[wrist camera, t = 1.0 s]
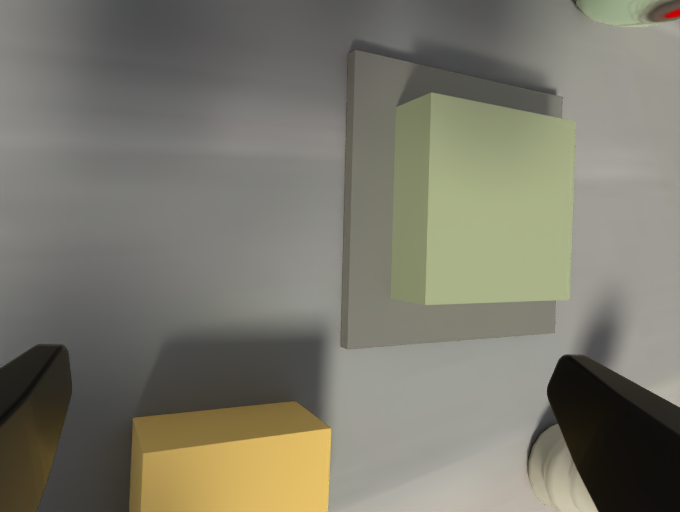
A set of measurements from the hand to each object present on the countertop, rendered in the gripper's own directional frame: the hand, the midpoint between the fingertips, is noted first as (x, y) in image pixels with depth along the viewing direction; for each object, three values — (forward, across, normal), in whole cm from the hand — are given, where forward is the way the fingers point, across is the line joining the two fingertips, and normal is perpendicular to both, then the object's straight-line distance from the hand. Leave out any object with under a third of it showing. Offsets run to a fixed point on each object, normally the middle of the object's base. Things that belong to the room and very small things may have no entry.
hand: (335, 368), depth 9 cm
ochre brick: (+6, +2, +11) cm, 13 cm away
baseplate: (+14, -8, +2) cm, 16 cm away
